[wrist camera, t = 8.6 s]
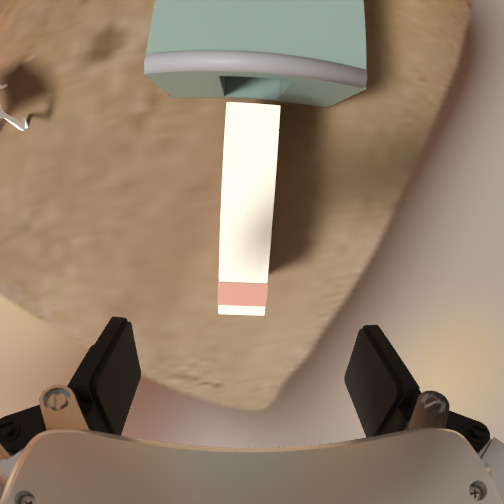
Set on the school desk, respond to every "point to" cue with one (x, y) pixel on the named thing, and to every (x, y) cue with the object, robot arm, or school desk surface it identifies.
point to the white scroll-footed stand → (13, 121)
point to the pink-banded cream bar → (247, 206)
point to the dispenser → (258, 49)
